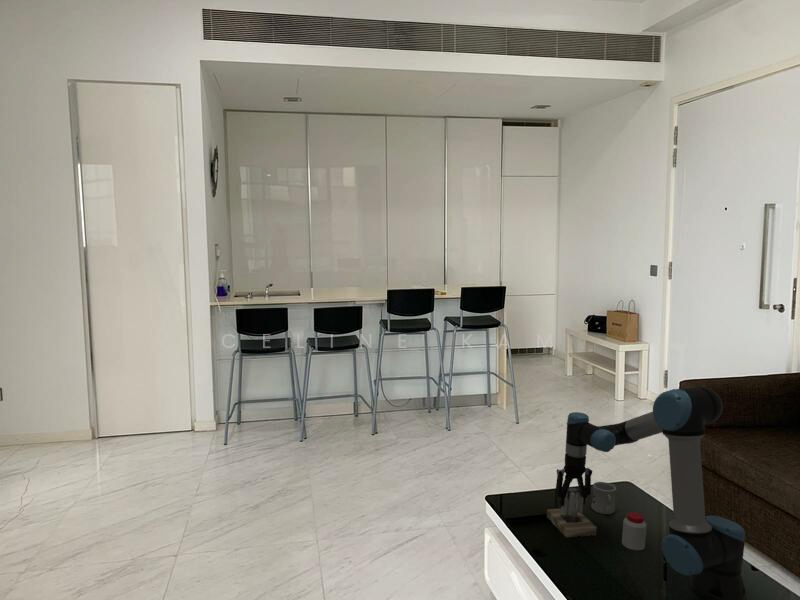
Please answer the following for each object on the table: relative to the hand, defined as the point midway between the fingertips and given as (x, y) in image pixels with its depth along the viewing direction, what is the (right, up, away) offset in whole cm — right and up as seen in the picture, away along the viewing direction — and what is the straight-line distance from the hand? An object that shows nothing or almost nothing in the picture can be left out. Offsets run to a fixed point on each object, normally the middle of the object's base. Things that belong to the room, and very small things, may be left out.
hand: (571, 513), depth 225 cm
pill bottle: (+19, -7, -12) cm, 23 cm away
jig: (0, -5, +1) cm, 5 cm away
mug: (+17, -4, +13) cm, 22 cm away
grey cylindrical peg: (0, -5, +1) cm, 5 cm away
